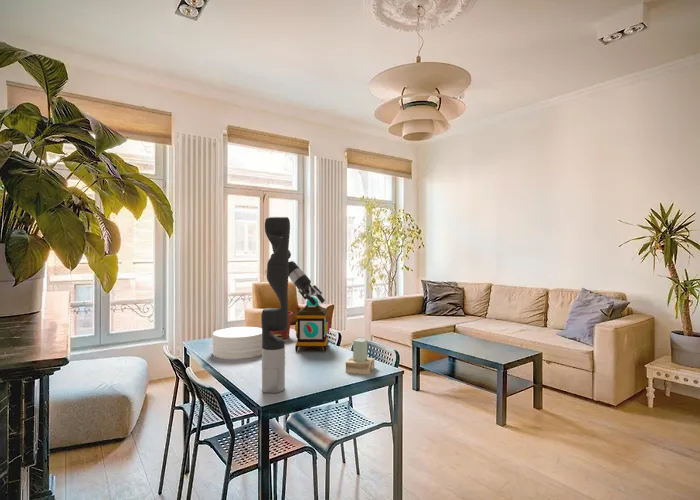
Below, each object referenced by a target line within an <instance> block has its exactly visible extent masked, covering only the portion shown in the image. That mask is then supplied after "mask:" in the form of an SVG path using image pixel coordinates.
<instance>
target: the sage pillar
mask: <svg viewBox="0 0 700 500" xmlns="http://www.w3.org/2000/svg"><path fill="white" fill-rule="evenodd" d="M352 344H353V349H352V350H353V352H352V357H353V361H358V362H364V361H365V360H367V358H368V339H366V338H365V339H364V338H356V339H354V340H353V341H352Z"/></svg>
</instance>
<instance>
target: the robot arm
mask: <svg viewBox="0 0 700 500" xmlns="http://www.w3.org/2000/svg"><path fill="white" fill-rule="evenodd" d="M264 221H265V222H264V232H265V236H266V237H267V239H268V242H269V243H270V244H271V247H272V249H271V250H272V252H273V253H272V254H271V255H270V257H269V259H268V261H267V266H266V280H267V283H268V284H269V286H270V287H271V289H272V290H273V292H274V293H275V294H276V297H277V299H278V301H279V304H280V307H278V308H277V307H274V308H273V307H272V308H271V307H268V308H264V309H262V311H261V318H260V320H261V328H262V354H261V390H262V393H271V394H278V393H280V392H282V391H284V390H285V387H286V383H285V382H286V377H285V376H286V375H285V374H286V373H285V371H286V370H285V369H286V341H285V339H284V338H283V339H282V338H279V337H276V336H274V335H273V334H271V333H270V331H284V330H286V329H287V327H288V311H289V296H288V295H289V294H288V293H289V292H288V290H289V289H288V288H289V279H290V281H291V282H292V283H293V284H294V286H295V287H296V288H297V289H298V293H299V294H300V295H301V296H302V298H303V299H304V300H306V301H307V300H309V301H310V302H311V303H312V305H315V304H316V303H317V302H316V301H315V300H314V298H313V297H315V298H316V299H317V300H318V302H320V303H321V304H324V302H325V301H326V300H325V298H324V297H323V296H322V294H323V293H322V291H321V290H320V289H319V288H318V287H317V286H316V284H314V285H311V283H312V280H311V279H310V278H309V277H308V275H307V274H306V273H305V272H304V271H303V270H302V269H301V268H300V266H298V265H297V263H296V262H295V261H293V260H291V261H289V260H290V258H291V256H292V252H291V251H290V249H289V247H290V234H291V220H290V218H289V217H287V216H268V217H266V219H265V220H264Z"/></svg>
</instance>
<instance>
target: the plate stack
mask: <svg viewBox="0 0 700 500" xmlns="http://www.w3.org/2000/svg"><path fill="white" fill-rule="evenodd" d="M212 355H214V356H213V357H215V356H216V357H215V358H217V357H219V358H218V359H223V358H224V360H242V359H248V358H249V357H250V358H254V357H257V356H262V327H257V326H256V327H255V326H235V327H234V326H233V327H227V328H222V329H217V330H215V331H213V333H212Z"/></svg>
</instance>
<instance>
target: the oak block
mask: <svg viewBox="0 0 700 500" xmlns="http://www.w3.org/2000/svg"><path fill="white" fill-rule="evenodd" d="M373 368H374V369H375V357H367V360H365V361H364V362H358V361H353V356H351V357H350V358H349V359H348V360H346V361H345V373H347V374H348V373H349V374H357V373H359V375H367V374H371V372H372V371H373V370H374V369H373ZM372 369H373V370H372Z"/></svg>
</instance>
